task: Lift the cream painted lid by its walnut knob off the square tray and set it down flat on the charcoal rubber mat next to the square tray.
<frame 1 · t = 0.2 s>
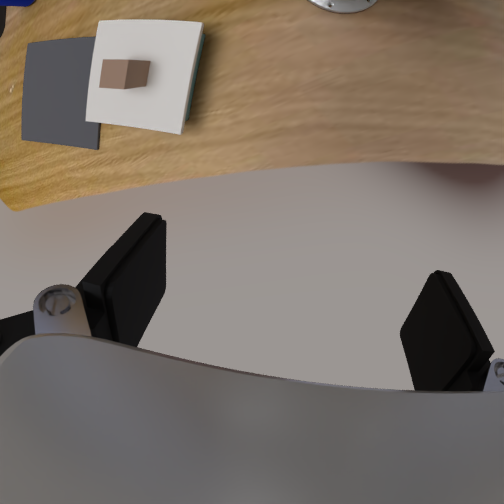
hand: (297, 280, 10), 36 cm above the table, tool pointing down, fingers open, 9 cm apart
square tray: (154, 72, 39), on the table
lid: (139, 72, 35), point 5 cm above the table, touching square tray
mat: (59, 91, 41), on the table
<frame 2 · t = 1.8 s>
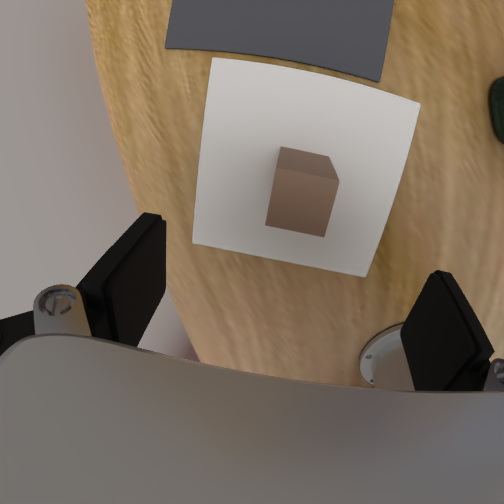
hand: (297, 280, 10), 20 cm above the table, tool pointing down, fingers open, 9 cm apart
lid: (300, 170, 23), point 5 cm above the table, touching square tray
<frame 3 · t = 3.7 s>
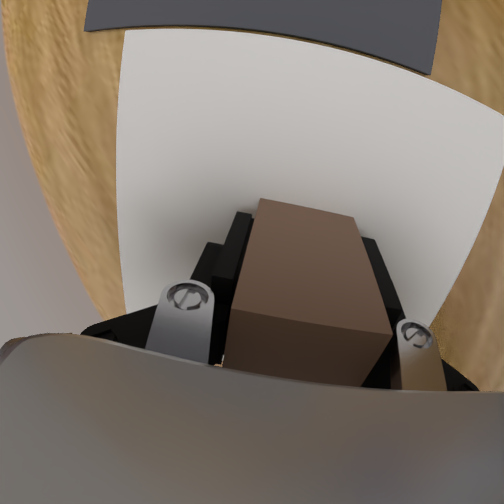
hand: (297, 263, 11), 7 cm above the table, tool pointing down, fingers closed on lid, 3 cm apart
lid: (297, 236, 13), point 5 cm above the table, touching square tray, gripper
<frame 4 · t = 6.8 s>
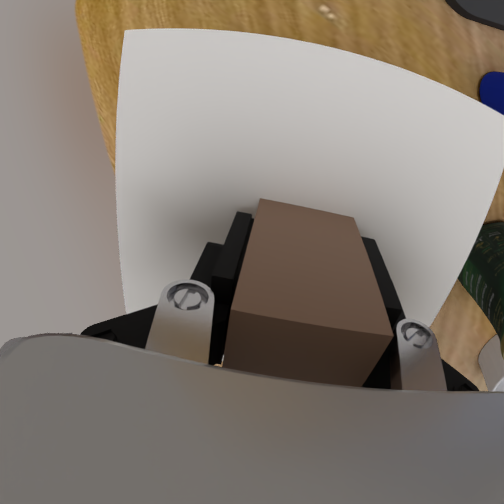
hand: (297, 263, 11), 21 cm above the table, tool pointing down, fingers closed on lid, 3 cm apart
coffee jar: (482, 248, 32), on the table
lid: (297, 236, 13), point 19 cm above the table, touching gripper
beverage can: (493, 94, 23), on the table
mug: (501, 350, 40), on the table
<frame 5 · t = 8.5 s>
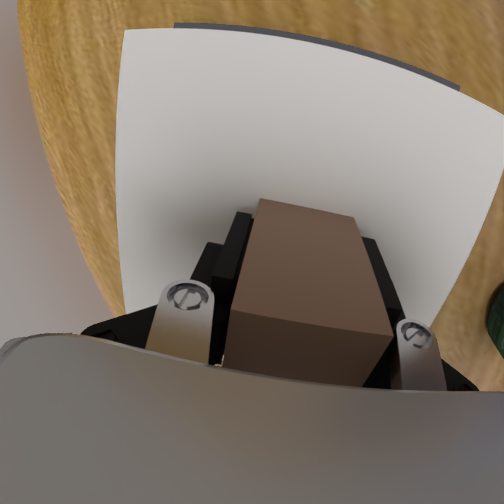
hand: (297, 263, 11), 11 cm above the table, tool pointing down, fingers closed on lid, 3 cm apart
lid: (297, 236, 13), point 9 cm above the table, touching gripper
mat: (297, 176, 21), on the table
when the fingers open (4 cm above the table, at t = 10.1 s): lid drops 2 cm, resting on mat.
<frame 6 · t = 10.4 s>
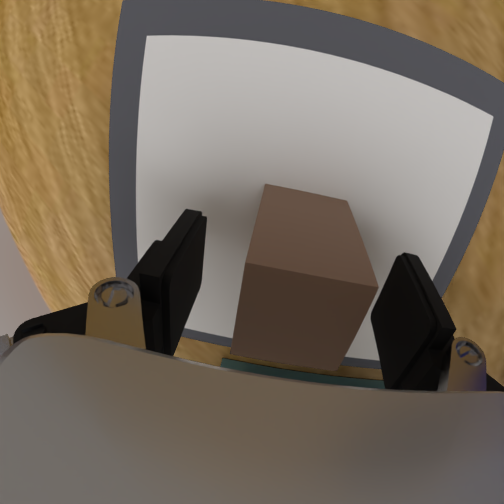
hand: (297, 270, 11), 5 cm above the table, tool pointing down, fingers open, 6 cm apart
square tray: (291, 416, 24), on the table
lid: (297, 219, 15), point 1 cm above the table, touching mat
mat: (296, 212, 15), on the table
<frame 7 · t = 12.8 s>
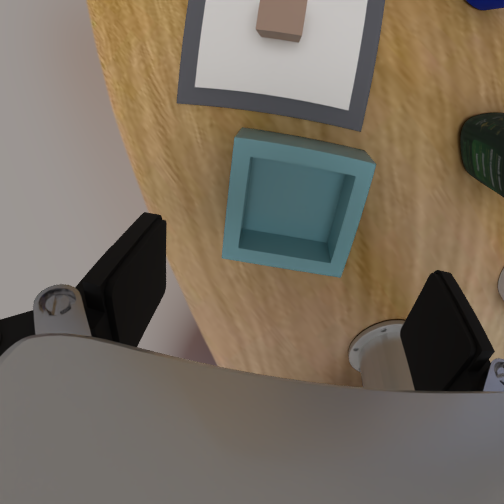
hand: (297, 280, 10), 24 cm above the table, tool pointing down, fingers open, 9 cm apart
square tray: (293, 194, 35), on the table
coffee jar: (488, 143, 28), on the table
lid: (282, 24, 24), point 1 cm above the table, touching mat
mat: (282, 25, 25), on the table
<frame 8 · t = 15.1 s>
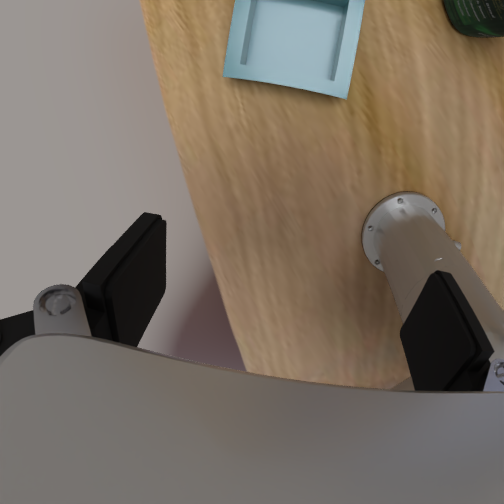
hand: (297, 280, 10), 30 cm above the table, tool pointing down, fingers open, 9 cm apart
square tray: (294, 35, 30), on the table
coffee jar: (471, 12, 24), on the table
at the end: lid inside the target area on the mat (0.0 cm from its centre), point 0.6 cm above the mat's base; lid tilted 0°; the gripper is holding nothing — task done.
